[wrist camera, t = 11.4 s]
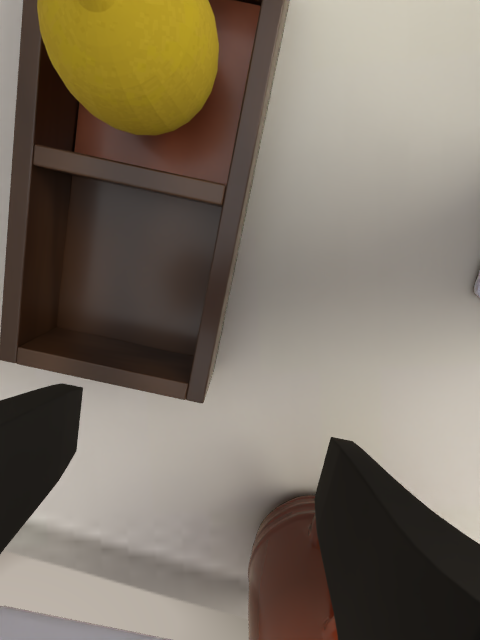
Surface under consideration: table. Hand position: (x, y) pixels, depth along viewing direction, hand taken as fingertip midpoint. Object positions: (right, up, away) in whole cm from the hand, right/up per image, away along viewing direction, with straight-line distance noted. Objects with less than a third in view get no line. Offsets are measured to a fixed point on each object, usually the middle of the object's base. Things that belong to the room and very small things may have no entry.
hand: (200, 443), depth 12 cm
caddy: (-3, +10, +8) cm, 13 cm away
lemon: (-2, +14, +6) cm, 15 cm away
